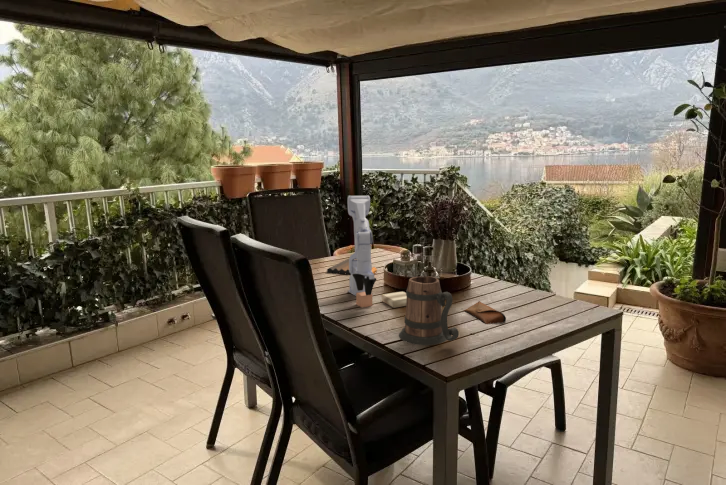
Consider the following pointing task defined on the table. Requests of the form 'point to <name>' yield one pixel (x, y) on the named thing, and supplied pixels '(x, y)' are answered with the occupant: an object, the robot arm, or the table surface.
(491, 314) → the sunglasses case
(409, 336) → the tankard
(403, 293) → the base
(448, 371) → the table surface
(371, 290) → the robot arm
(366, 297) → the cube
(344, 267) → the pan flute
